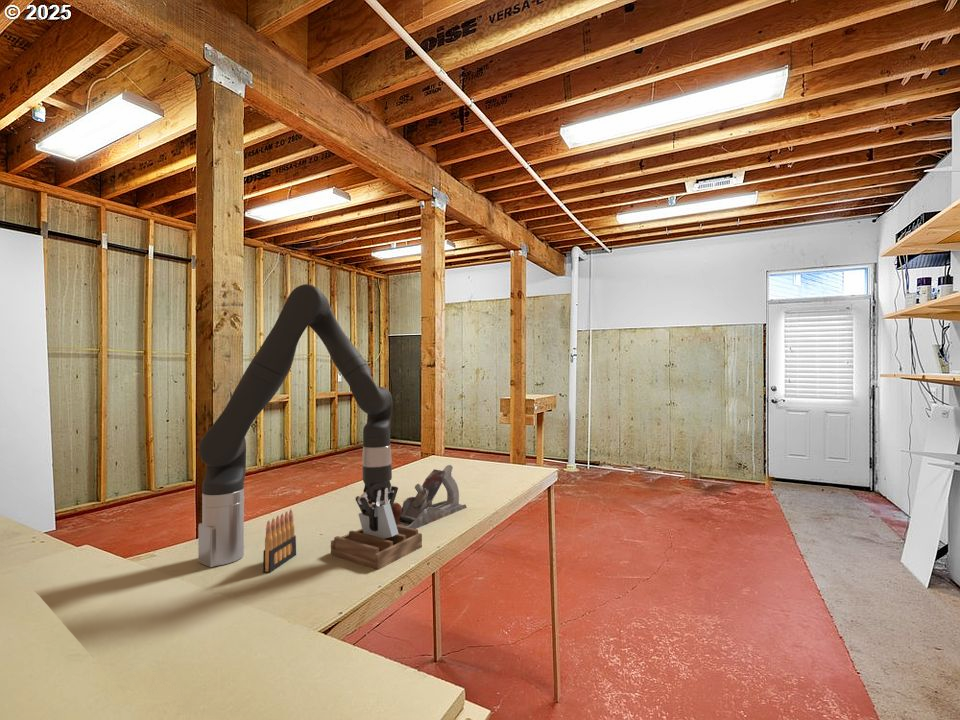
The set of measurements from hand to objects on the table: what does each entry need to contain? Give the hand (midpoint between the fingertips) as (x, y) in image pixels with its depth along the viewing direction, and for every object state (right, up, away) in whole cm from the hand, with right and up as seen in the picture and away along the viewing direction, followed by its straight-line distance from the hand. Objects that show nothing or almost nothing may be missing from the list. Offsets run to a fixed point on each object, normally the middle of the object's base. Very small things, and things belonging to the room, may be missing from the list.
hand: (378, 528), depth 119 cm
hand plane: (+9, -7, +26) cm, 28 cm away
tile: (+1, -2, -1) cm, 3 cm away
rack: (0, -6, 0) cm, 6 cm away
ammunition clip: (-23, -6, -7) cm, 24 cm away
